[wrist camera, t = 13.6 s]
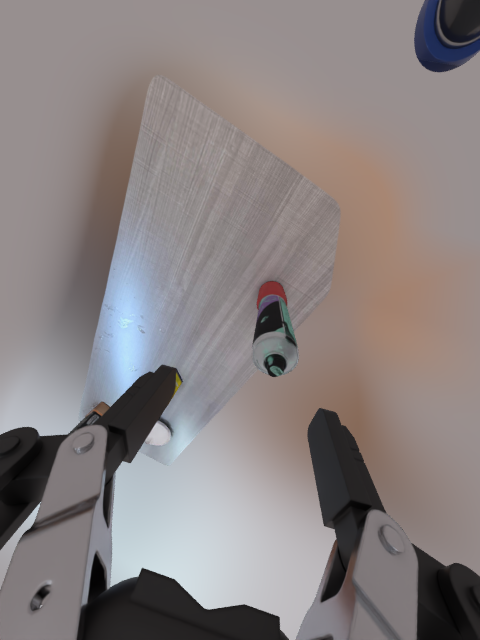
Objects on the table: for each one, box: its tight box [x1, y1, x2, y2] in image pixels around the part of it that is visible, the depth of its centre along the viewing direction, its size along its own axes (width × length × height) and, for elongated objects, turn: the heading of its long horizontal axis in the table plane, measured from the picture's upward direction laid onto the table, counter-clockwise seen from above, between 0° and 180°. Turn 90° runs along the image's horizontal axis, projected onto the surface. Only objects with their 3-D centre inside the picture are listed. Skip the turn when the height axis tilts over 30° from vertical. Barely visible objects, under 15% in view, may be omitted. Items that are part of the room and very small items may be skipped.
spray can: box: [252, 295, 299, 377], centre depth 27 cm, size 6×6×20 cm
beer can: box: [257, 281, 287, 310], centre depth 42 cm, size 7×7×12 cm
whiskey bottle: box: [69, 402, 110, 434], centre depth 66 cm, size 10×10×32 cm
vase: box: [145, 421, 171, 446], centre depth 75 cm, size 16×16×7 cm
